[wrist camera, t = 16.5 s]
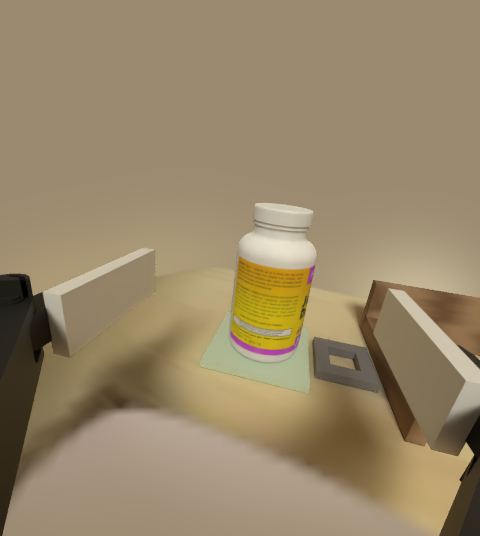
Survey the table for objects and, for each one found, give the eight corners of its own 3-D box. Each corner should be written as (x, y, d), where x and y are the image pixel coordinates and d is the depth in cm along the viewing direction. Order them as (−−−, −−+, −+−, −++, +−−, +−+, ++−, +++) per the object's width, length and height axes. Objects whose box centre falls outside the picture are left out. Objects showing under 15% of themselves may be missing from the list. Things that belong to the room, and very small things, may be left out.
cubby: (404, 440, 17) (437, 369, 15) (359, 326, 31) (373, 280, 29) (656, 507, 15) (735, 433, 13) (486, 351, 28) (512, 303, 26)
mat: (200, 366, 22) (200, 360, 22) (228, 315, 30) (228, 310, 30) (308, 393, 20) (309, 388, 20) (306, 331, 28) (307, 326, 28)
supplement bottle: (303, 370, 22) (339, 218, 17) (225, 362, 22) (241, 207, 17) (290, 326, 28) (314, 206, 24) (230, 320, 28) (242, 198, 24)
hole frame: (315, 377, 22) (316, 370, 22) (312, 343, 27) (314, 336, 26) (377, 392, 21) (380, 385, 21) (363, 354, 26) (366, 347, 25)
